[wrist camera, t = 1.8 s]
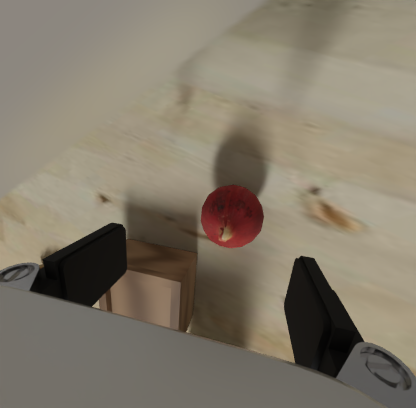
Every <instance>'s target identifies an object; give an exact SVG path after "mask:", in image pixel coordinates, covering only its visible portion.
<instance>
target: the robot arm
mask: <svg viewBox="0 0 416 408" xmlns="http://www.w3.org/2000/svg"><path fill="white" fill-rule="evenodd" d="M43 264H44V267H42V268H41V269H40V267H39V265H38V264H36V263H21V264H17V265H13V266H10V267H7V268H5V269H3V270H1V271H0V408H416V377H415V376H414V374H413V373H412V372H411V370H410V369H409V368H408V367H407V366H406V365H405V364H404V363H403V362H402V361H401V360H400V359H399V358H397V357H396V356H395V355H393V354H392V353H391V352H389V351H387V350H385V349H384V348H382V347H380V346H378V345H375V344H372V343H368V342H364V340H363V338H362V337H361V335H360V333H359V332H358V330H357V328H356V326H355V325H354V323H353V321H352V320H351V318H350V316H349V314H348V313H347V311H346V309H345V308H344V306H343V304H342V303H341V301H340V299H339V297H338V296H337V294H336V293H335V291H334V290H332V289H331V287H330V285H329V284H328V282H327V280H326V278H325V277H324V275H323V273H322V271H321V270H320V268H319V266H318V264H317V263H316V261H315V259H314V258H310V257H304V256H300V258H296V259H295V262H294V266H293V270H292V274H291V278H290V282H289V286H288V290H287V294H286V298H285V302H284V310H285V315H286V320H287V325H288V330H289V335H290V339H291V344H292V349H293V354H294V359H295V363H292V362H289V361H286V360H283V359H279V358H276V357H273V356H269V355H265V354H262V353H258V352H255V351H251V350H248V349H245V348H241V347H238V346H234V345H230V344H227V343H223V342H219V341H216V340H212V339H209V338H205V337H201V336H198V335H194V334H191V333H187V332H183V331H180V330H176V329H172V328H169V327H165V326H161V325H158V324H154V323H150V322H147V321H143V320H139V319H135V318H132V317H128V316H124V315H121V314H117V313H113V312H109V311H106V310H102V309H98V308H94V307H92V306H93V305H94V304H95V303H96V302H97V301H98V300H99V299H100V298H101V297H102V296H103V295H104V294H105V293H106V292H107V291H108V290H109V289H110V288H111V287H112V286H113V285H114V284H115V283H116V282H117V281H118V280H119V279H120V278H121V277H122V276H123V275H124V274H125V273H126V271H127V250H126V230H125V228H124V227H123V225H122V224H117V223H110V224H108V225H106V226H104V227H102V228H100V229H99V230H97V231H95V232H93V233H91V234H89V235H87V236H85V237H84V238H82V239H80V240H78V241H76V242H74V243H72V244H70V245H69V246H67V247H65V248H63V249H61V250H59V251H57V252H55V253H54V254H52V255H50V256H48V257H46V258H44V259H43Z"/></svg>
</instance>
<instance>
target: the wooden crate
mask: <svg viewBox="0 0 416 408" xmlns="http://www.w3.org/2000/svg"><path fill="white" fill-rule="evenodd" d="M126 250H127V271H126V273H125V274H124V275H123V276H122V277H121V278H120V279H119V280H118V281H117V282H116V283H115V284H114V285H113V286H112V287H111V288H110V289H109V290H108V291H107V292H106V293H105V294H104V295H103V296H102V297H101V298H100V299H99V306H100V309H102V310H106V311H109V312H113V313H117V314H121V315H124V316H128V317H132V318H135V319H139V320H143V321H147V322H150V323H154V324H158V325H161V326H165V327H169V328H172V329H176V330H180V331H183V332H186V331H187V328H188V326H189V323H190V321H191V318H192V315H193V305H194V291H195V278H196V265H197V253H194V252H190V251H185V250H180V249H175V248H170V247H165V246H160V245H155V244H151V243H146V242H141V241H136V240H131V239H127V240H126Z"/></svg>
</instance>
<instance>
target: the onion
mask: <svg viewBox="0 0 416 408" xmlns="http://www.w3.org/2000/svg"><path fill="white" fill-rule="evenodd" d="M263 219H264V215H263V210H262V205H261V204H260V202H259V200H258V199H257V197H256V196H255V195H254V194H253V193H252V192H250V191H249V190H248V189H246V188H244V187H241V186H237V185H228V186H223V187H219V188H217V189H216V190H215V191H213V192H212V193H211V194H209V195H208V197H207V199H206V201H205V203H204V205H203V207H202V214H201V223H202V226H203V229H204V231H205V233H206V234H207V236H208V237H209V239H210V240H211V241H213V242H214V243H216V244H218V245H219V246H223V247H228V248H236V247H242V246H244V245H246V244H248V243H250V242H251V241H253V240H254V239H255V237H256V236H257V235H258V234H259V232H260V231H261V228H262V223H263Z"/></svg>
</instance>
